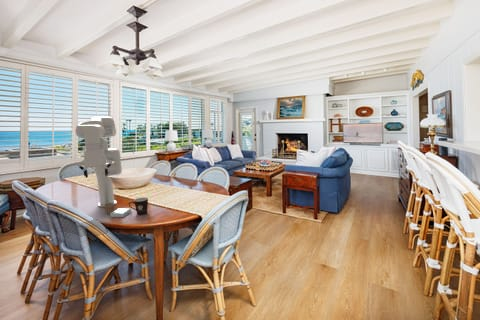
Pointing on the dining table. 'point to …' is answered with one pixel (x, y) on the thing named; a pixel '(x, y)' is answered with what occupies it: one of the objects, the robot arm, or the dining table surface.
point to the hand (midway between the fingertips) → (96, 176)
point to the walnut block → (109, 208)
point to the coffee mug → (141, 205)
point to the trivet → (120, 212)
